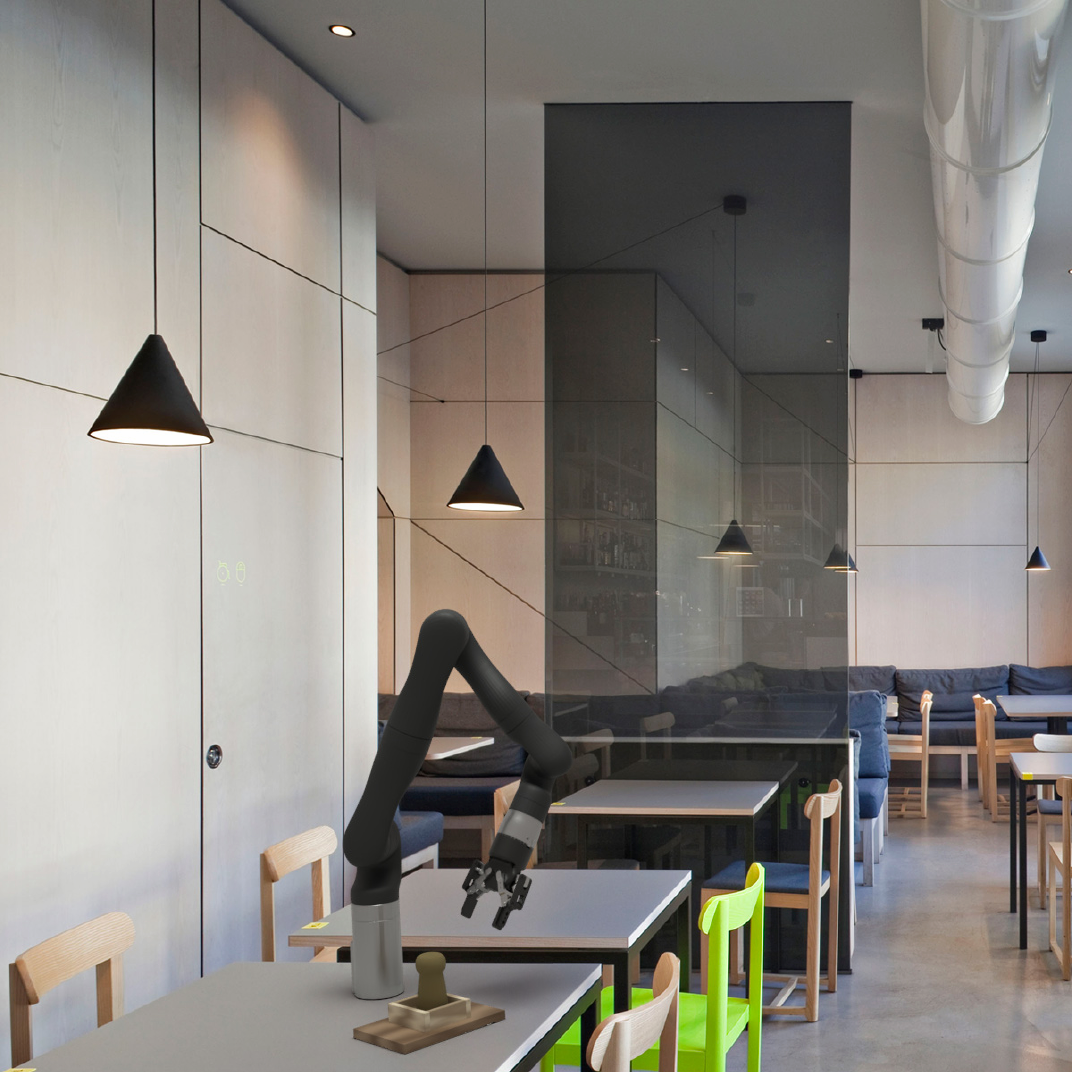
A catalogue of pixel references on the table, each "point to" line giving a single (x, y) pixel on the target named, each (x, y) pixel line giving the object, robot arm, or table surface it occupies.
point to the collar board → (426, 1023)
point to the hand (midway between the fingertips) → (480, 922)
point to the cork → (431, 981)
